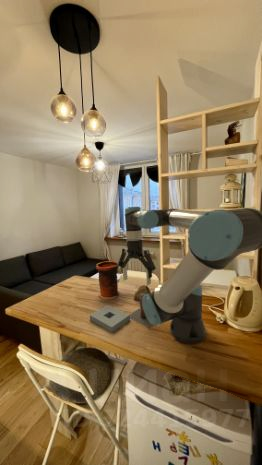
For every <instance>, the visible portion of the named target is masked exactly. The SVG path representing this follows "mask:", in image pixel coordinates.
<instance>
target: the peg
mask: <svg viewBox="0 0 262 465" xmlns="http://www.w3.org/2000/svg"><path fill="white" fill-rule="evenodd" d="M144 295H146V294H144V293H141V294H140V300H139V306H140V307H139V309H140V314H141V318H142V319H145V318H147V317H146V315H145V313H144V310H143V306H142V298H143V296H144Z"/></svg>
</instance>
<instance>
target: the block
mask: <svg viewBox="0 0 262 465" xmlns="http://www.w3.org/2000/svg"><path fill="white" fill-rule="evenodd" d="M89 321H91V322H93V323H94V324H96V325H98V326H100V327H102V328H103V329H105V330H107V331H109V332H110V333H114V332H115V331H117V330H118V329H119V328H122V326H124V325H125V324H126V323H128V322H129V321H131V319H130V314H128V313H126V312H123V311H122V310H120V309H117V308H115V307H113V306H110V305H108V304H106V305H104V306H103V307H102V308H100V309H99V308H98V310H96V311H95V312H93V313H91V314H89Z"/></svg>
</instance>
